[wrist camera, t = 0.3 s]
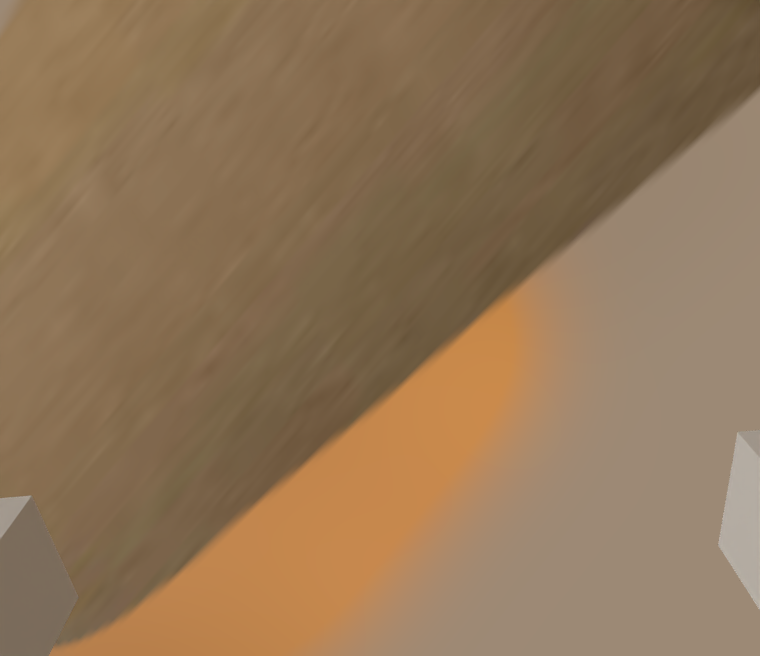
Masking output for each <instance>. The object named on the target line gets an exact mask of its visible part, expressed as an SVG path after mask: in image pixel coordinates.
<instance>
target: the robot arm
mask: <svg viewBox="0 0 760 656" xmlns="http://www.w3.org/2000/svg"><path fill="white" fill-rule="evenodd" d="M718 545H719V547H720V549H721V550H722V552H723V553H724V555H725V556H726V558H727V559H728V561H729V563H730V564H731V566H732V567H733V569H734V570H735V572H736V574H737V575H738V577H739V578H740V580H741V581H742V583H743V584H744V586H745V588H746V589H747V591H748V592H749V594H750V595H751V597H752V599H753V600H754V602H755V603H756V605H757V606H758V608H759V610H760V430H754V431H743V432H738V433H737V438H736V444H735V450H734V456H733V462H732V468H731V473H730V479H729V485H728V491H727V497H726V503H725V509H724V514H723V520H722V526H721V533H720V539H719V544H718ZM78 598H79V597H78V595H77V593H76V591H75V589H74V587H73V584H72V582H71V580H70V578H69V576H68V573H67V571H66V569H65V567H64V565H63V563H62V560H61V558H60V556H59V554H58V552H57V549H56V547H55V545H54V543H53V541H52V539H51V536H50V534H49V532H48V530H47V528H46V525H45V523H44V521H43V519H42V517H41V515H40V512H39V510H38V508H37V506H36V504H35V501H34V499H33V497H32V496H22V497H11V498H0V656H49V654H50V652H51V650H52V648H53V646H54V644H55V642H56V640H57V638H58V636H59V634H60V632H61V631H62V629H63V627H64V625H65V623H66V621H67V619H68V617H69V615H70V613H71V611H72V609H73V607H74V605H75V603H76V601H77V599H78Z"/></svg>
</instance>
